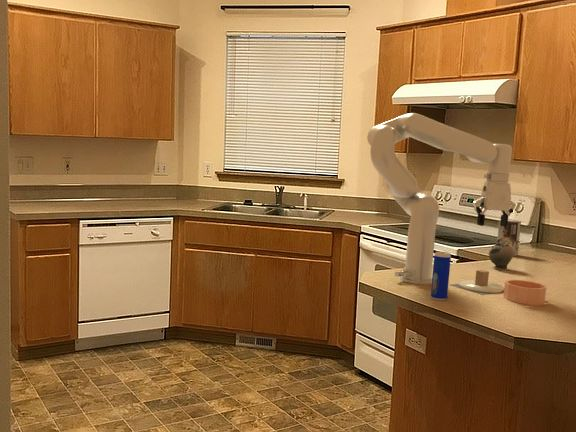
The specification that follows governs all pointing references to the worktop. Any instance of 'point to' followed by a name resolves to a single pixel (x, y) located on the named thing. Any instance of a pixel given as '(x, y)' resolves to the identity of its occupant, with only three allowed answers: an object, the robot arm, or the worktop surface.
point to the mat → (472, 291)
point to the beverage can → (440, 275)
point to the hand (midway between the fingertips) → (491, 225)
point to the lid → (481, 284)
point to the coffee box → (510, 234)
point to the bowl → (525, 292)
